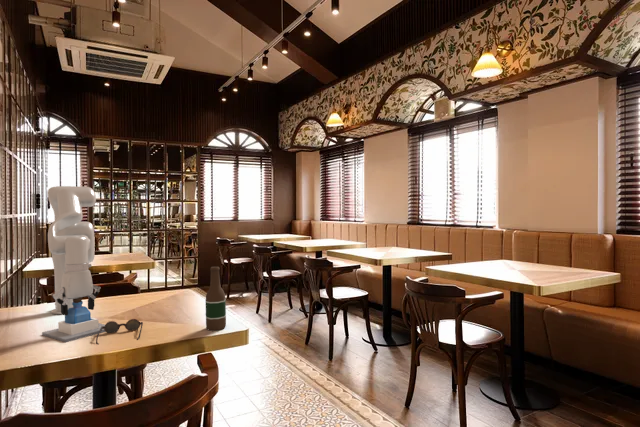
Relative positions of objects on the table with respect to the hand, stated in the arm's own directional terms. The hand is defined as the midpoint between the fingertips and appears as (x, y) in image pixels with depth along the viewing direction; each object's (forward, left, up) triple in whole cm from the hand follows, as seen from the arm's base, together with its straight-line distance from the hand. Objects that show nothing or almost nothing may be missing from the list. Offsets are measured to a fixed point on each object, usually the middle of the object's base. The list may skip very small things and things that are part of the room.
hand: (78, 312), depth 157 cm
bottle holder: (0, 0, -8) cm, 8 cm away
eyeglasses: (+20, +5, -8) cm, 22 cm away
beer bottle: (+44, +30, -8) cm, 54 cm away
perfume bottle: (0, 0, -7) cm, 7 cm away
